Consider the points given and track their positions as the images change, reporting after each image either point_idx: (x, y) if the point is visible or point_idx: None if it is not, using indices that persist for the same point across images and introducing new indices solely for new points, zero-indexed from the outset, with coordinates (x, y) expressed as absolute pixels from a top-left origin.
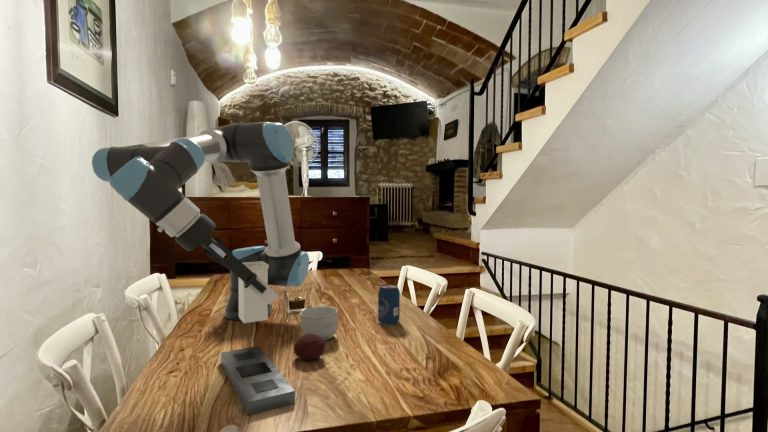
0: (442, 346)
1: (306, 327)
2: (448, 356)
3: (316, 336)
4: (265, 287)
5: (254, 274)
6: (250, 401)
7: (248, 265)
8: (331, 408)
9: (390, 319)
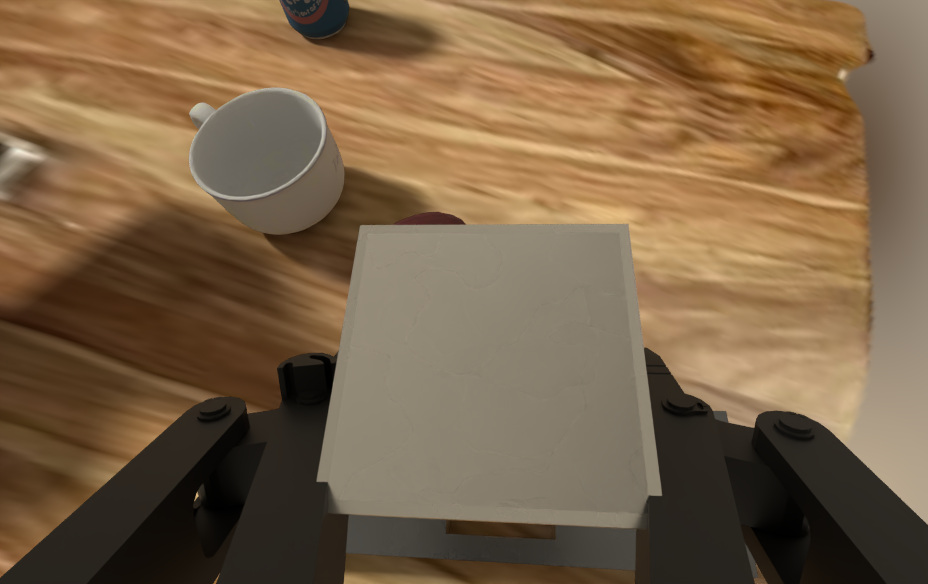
0: (547, 4)
1: (290, 214)
2: (607, 21)
3: (436, 223)
4: (657, 356)
5: (835, 443)
6: (754, 566)
7: (595, 431)
8: (775, 345)
9: (342, 11)
